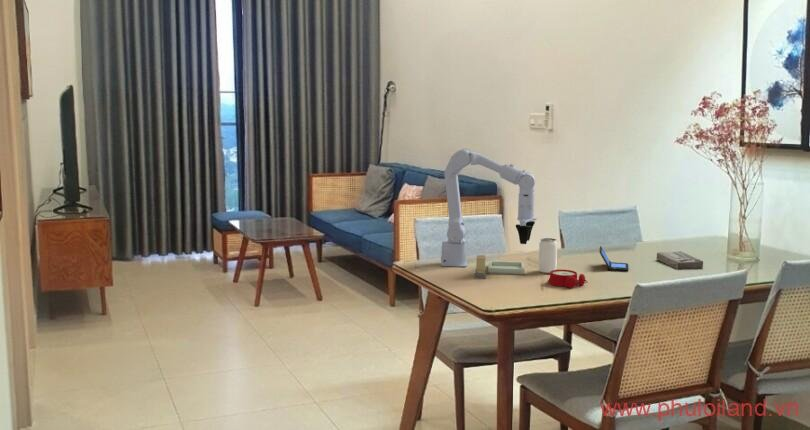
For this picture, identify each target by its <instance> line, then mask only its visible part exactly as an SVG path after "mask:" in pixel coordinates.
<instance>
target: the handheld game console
mask: <svg viewBox="0 0 810 430" xmlns="http://www.w3.org/2000/svg"><path fill="white" fill-rule="evenodd" d="M599 247H600V248H599V254H600V256H601V258H602V259H603V261H604V263H605V265H606V267H607V272H619V273H620V272H622V273H627V272H629V270H630V269H629V268H630V267H629V264H628V262H627V263H626V262H613V261H612V262H611V260H610V259H609V258H608V255H607V254H606V252H605V250H604V249H603V247H602V246H601V245H600V246H599Z"/></svg>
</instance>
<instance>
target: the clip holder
mask: <svg viewBox="0 0 810 430" xmlns="http://www.w3.org/2000/svg"><path fill="white" fill-rule="evenodd" d="M487 274H488V268H485V274H484V271H478V270H477V273H476V272H475V273H474V275H473V276H474V277H473V278H474V279H485V280H486V278H487Z"/></svg>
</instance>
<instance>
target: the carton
mask: <svg viewBox="0 0 810 430" xmlns="http://www.w3.org/2000/svg"><path fill="white" fill-rule="evenodd" d="M486 257H487V256H486V254H477V255H476V259H475V260H476V262H475V263H476V264H475V265H476V266H475V267H476V268H475V273H477V270H478V271H484V274H485V269H486Z"/></svg>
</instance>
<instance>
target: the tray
mask: <svg viewBox="0 0 810 430" xmlns="http://www.w3.org/2000/svg"><path fill="white" fill-rule="evenodd" d="M487 274H491V275H494V274H496V275H518V276H525V262H524V261H507V260H506V261H505V260H501V261H500V260H489V261H488V268H487Z"/></svg>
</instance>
